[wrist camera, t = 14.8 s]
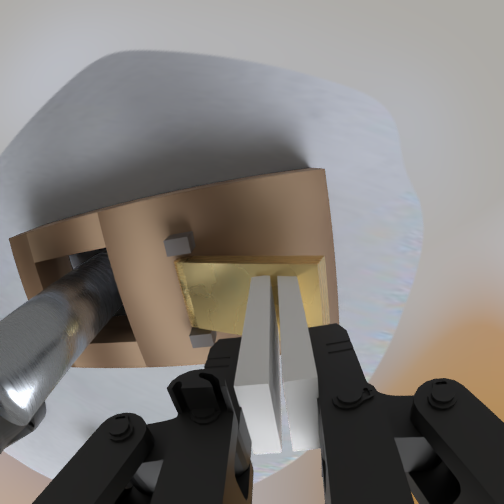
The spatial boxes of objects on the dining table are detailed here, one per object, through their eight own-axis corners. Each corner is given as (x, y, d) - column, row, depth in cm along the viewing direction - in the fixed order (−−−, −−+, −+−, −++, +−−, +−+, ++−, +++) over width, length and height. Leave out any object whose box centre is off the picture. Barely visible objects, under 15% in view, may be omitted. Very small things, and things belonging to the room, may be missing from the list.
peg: (96, 306, 21) (-6, 417, 8) (80, 256, 20) (-48, 345, 7) (140, 301, 21) (45, 433, 8) (124, 248, 20) (-6, 350, 7)
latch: (198, 317, 16) (187, 326, 16) (182, 255, 15) (169, 262, 15) (330, 332, 13) (324, 345, 12) (324, 255, 12) (317, 264, 11)
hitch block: (80, 340, 22) (50, 375, 17) (41, 225, 19) (-3, 243, 14) (326, 313, 21) (344, 356, 16) (310, 167, 18) (330, 169, 13)
